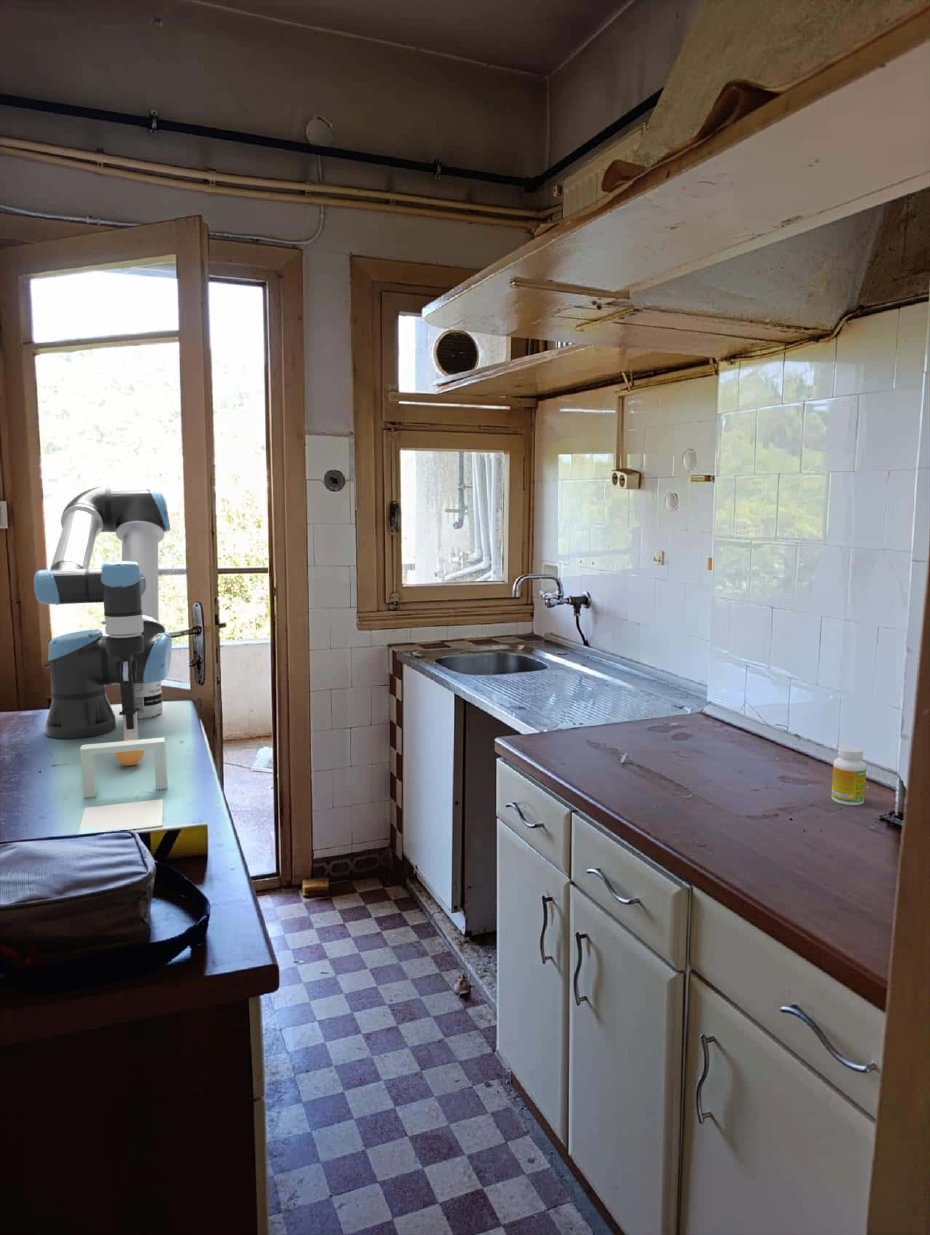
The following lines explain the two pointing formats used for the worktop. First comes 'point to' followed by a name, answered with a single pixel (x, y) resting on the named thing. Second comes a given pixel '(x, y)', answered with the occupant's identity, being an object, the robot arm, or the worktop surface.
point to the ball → (129, 756)
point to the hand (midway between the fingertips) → (131, 742)
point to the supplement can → (148, 699)
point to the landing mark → (123, 816)
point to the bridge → (122, 746)
